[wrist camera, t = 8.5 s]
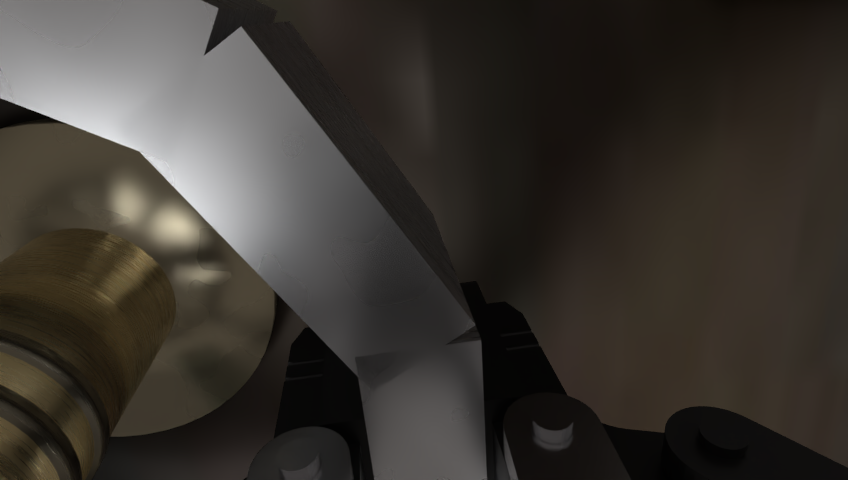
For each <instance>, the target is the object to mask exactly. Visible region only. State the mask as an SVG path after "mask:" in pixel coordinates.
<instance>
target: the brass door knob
mask: <svg viewBox="0 0 848 480" xmlns="http://www.w3.org/2000/svg"><path fill="white" fill-rule="evenodd" d="M277 304H278V294H277V293H276V292H275V291H274V290H273V289H272V288H271V287H270V286H269V285H268V284H267V283H266V282H265V281H264V280H263V279H262V277H261V276H260V275H259V274H258V273H257V272H256V271H255V270H254V269H253V268H252V267H251V266H250V265H249V264H248V263H247V262H246V261H245V260H244V259H243V258H242V257H241V256H240V255H239V254H238V253H237V252H236V251H235V250H234V249H233V248H232V247H231V245H230V244H229V243H228V242H227V241H226V240H225V239H224V238H223V237H222V236H221V235H220V234H219V233H218V232H217V231H216V230H215V229H214V228H213V227H212V226H211V225H210V224H209V223H208V222H207V221H206V220H205V219H204V218H203V217H202V216H201V215H200V214H199V212H198V211H197V210H196V209H195V208H194V207H193V206H192V205H191V204H190V203H189V202H188V201H187V200H186V199H185V198H184V197H183V196H182V195H181V194H180V193H179V192H178V191H177V190H176V189H175V188H174V187H173V186H172V185H171V184H170V183H169V182H168V181H167V179H166V178H165V177H164V176H163V175H162V174H161V173H160V172H159V171H158V170H157V169H156V168H155V167H154V166H153V165H152V164H151V163H150V162H149V161H148V160H147V159H146V158H145V157H144V156H143V155H142V154H141V153H140V152H139V151H137V150H135V149H132V148H129V147H127V146H124V145H121V144H119V143H116V142H114V141H111V140H108V139H106V138H103V137H101V136H98V135H95V134H93V133H90V132H87V131H85V130H82V129H80V128H77V127H74V126H72V125H69V124H67V123H64V122H61V121H59V120H56V119H53V118H44V119H38V120H32V121H26V122H20V123H16V124H13V125H10V126H7V127H4V128H1V129H0V480H92V478H93V477H94V475H95V473H96V471H97V470H98V468H99V466H100V464H101V463H102V461H103V459H104V456H105V454H106V452H107V448H108V444H109V438H110V437H125V436H135V435H145V434H150V433H155V432H160V431H165V430H169V429H172V428H175V427H178V426H181V425H184V424H187V423H189V422H191V421H194V420H196V419H198V418H200V417H203V416H204V415H206V414H208V413H209V412H211V411H213V410H215V409H216V408H218V407H220V406H221V405H222V404H223V403H225V402H226V401H227V400H228V399H230V398H231V397H232V396H234V395H235V394H236V393H237V392H238V391H239V390H240V388H241V387H242V386H243V385H244V384H245V383H246V382H247V381H248V380H249V378H250V377H251V375H252V374H253V373H254V371H255V370H256V369H257V367H258V365H259V363H260V361H261V359H262V357H263V355H264V353H265V351H266V348H267V345H268V342H269V339H270V336H271V333H272V329H273V325H274V321H275V316H276V310H277Z"/></svg>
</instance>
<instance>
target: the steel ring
mask: <svg viewBox="0 0 848 480" xmlns="http://www.w3.org/2000/svg"><path fill="white" fill-rule="evenodd" d="M276 13H277V10H275V9H273V8H270V7H268V6H266V5H264V4H262V3H260V2H258V1H256V0H0V98H1V99H4V100H6V101H9V102H12V103H14V104H17V105H20V106H22V107H25V108H27V109H30V110H33V111H35V112H38V113H40V114H43V115H46V116H48V117H51V118H53V119H56V120H59V121H61V122H64V123H67V124H69V125H72V126H74V127H77V128H80V129H82V130H85V131H87V132H90V133H93V134H95V135H98V136H101V137H103V138H106V139H108V140H111V141H114V142H116V143H119V144H121V145H124V146H127V147H129V148H132V149H135V150H137V151H139V152H140V153H141V154H142V155H143V156H144V157H145V158H146V159H147V160H148V161H149V162H150V163H151V164H152V165H153V166H154V167H155V168H156V169H157V170H158V171H159V172H160V173H161V174H162V175H163V176H164V177H165V178H166V179H167V181H168V182H169V183H170V184H171V185H172V186H173V187H174V188H175V189H176V190H177V191H178V192H179V193H180V194H181V195H182V196H183V197H184V198H185V199H186V200H187V201H188V202H189V203H190V204H191V205H192V206H193V207H194V208H195V209H196V210H197V211H198V212H199V214H200V215H201V216H202V217H203V218H204V219H205V220H206V221H207V222H208V223H209V224H210V225H211V226H212V227H213V228H214V229H215V230H216V231H217V232H218V233H219V234H220V235H221V236H222V237H223V238H224V239H225V240H226V241H227V242H228V243H229V244H230V245H231V247H232V248H233V249H234V250H235V251H236V252H237V253H238V254H239V255H240V256H241V257H242V258H243V259H244V260H245V261H246V262H247V263H248V264H249V265H250V266H251V267H252V268H253V269H254V270H255V271H256V272H257V273H258V274H259V275H260V276H261V277H262V279H263V280H264V281H265V282H266V283H267V284H268V285H269V286H270V287H271V288H272V289H273V290H274V291H275V292H276V293H277V294H278V295H279V296H280V297H281V298H282V299H283V300H284V301H285V302H286V303H287V304H288V305H289V306H290V307H291V308H292V309H293V310H294V312H295V313H296V314H297V315H298V316H299V317H300V318H301V319H302V320H303V321H304V322H305V323H306V324H307V325H308V326H309V327H310V328H311V329H312V330H313V331H314V332H315V333H316V334H317V335H318V336H319V337H320V338H321V339H322V340H323V341H324V342H325V343H326V345H327V346H328V347H329V348H330V349H331V350H332V351H333V352H334V353H335V354H336V355H337V356H338V357H339V358H340V359H341V360H342V361H343V362H344V363H345V364H346V365H347V366H348V367H349V368H350V369H351V370H352V371H353V372H354V373H355V374H356V375H357V376H358V380H359V386H360V392H361V399H362V405H363V411H364V418H365V424H366V430H367V436H368V443H369V449H370V455H371V462H372V468H373V474H374V480H487V467H486V443H485V418H484V394H483V370H482V345H481V338H480V335H479V333H478V330H477V328H476V325H475V322H474V319H473V317H472V314H471V312H470V309H469V306H468V304H467V301H466V299H465V296H464V293H463V291H462V288H461V286H460V283H459V281H458V278H457V275H456V273H455V270H454V268H453V265H452V262H451V260H450V257H449V255H448V252H447V249H446V247H445V244H444V242H443V239H442V237H441V234H440V231H439V229H438V226H437V224H436V221H435V218H434V216H433V214H432V212H431V211H430V210H429V208H428V207H427V206H426V204H425V203H424V202H423V200H422V199H421V197H420V196H419V195H418V193H417V192H416V191H415V189H414V188H413V187H412V185H411V184H410V183H409V181H408V180H407V179H406V177H405V176H404V175H403V173H402V172H401V170H400V169H399V168H398V166H397V165H396V164H395V162H394V161H393V160H392V158H391V157H390V156H389V154H388V153H387V152H386V150H385V149H384V148H383V146H382V145H381V144H380V142H379V141H378V139H377V138H376V137H375V135H374V134H373V133H372V131H371V130H370V129H369V127H368V126H367V125H366V123H365V122H364V121H363V119H362V118H361V117H360V115H359V114H358V113H357V111H356V110H355V108H354V107H353V106H352V104H351V103H350V102H349V100H348V99H347V98H346V96H345V95H344V94H343V92H342V91H341V90H340V88H339V87H338V86H337V84H336V83H335V81H334V80H333V79H332V77H331V76H330V75H329V73H328V72H327V71H326V69H325V68H324V67H323V65H322V64H321V63H320V61H319V60H318V59H317V57H316V56H315V55H314V53H313V52H312V50H311V49H310V48H309V46H308V45H307V44H306V42H305V41H304V40H303V38H302V37H301V36H300V34H299V33H298V32H297V30H296V29H295V28H294V26H293V25H292V24H291V22H290V21H287V22H278V23H273V22H274V19H275V16H276Z"/></svg>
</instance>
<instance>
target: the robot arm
mask: <svg viewBox="0 0 848 480" xmlns="http://www.w3.org/2000/svg"><path fill="white" fill-rule="evenodd" d="M460 286H461V288H462V291H463V293H464V296H465V299H466V301H467V304H468V306H469V309H470V312H471V314H472V317H473V319H474V322H475V325H476V328H477V330H478V333H479V335H480V338H481V345H482V370H483V394H484V418H485V443H486V467H487V480H848V468H847V467H845V466H843V465H841V464H839V463H837V462H835V461H833V460H831V459H829V458H827V457H825V456H823V455H821V454H819V453H817V452H815V451H813V450H811V449H809V448H807V447H805V446H803V445H801V444H799V443H797V442H795V441H793V440H790V439H788V438H786V437H784V436H782V435H780V434H778V433H776V432H774V431H772V430H770V429H768V428H766V427H764V426H762V425H760V424H758V423H756V422H754V421H752V420H750V419H748V418H746V417H744V416H742V415H739V414H737V413H734V412H731V411H728V410H724V409H720V408H715V407H705V406H698V407H689V408H685V409H682V410H680V411H678V412H676V413H675V414H673V415H672V416H671V417H670V418H669V419H668V421H667V423H666V426H665V433H660V432H650V431H640V430H631V429H623V428H617V427H613V426H609V425H606V424H603V423H601V421H600V419H599V418H598V416H597V415H596V413H595V412H594V411H593V410H592V409H591V408H590V407H588V406H587V405H586V404H584V403H583V402H581V401H579V400H577V399H575V398H573V397H570V396H568V395H567V394H566V392H565V390H564V388H563V386H562V385H561V383H560V381H559V379H558V377H557V376H556V374H555V372H554V370H553V368H552V366H551V365H550V363H549V361H548V359H547V357H546V356H545V354H544V352H543V350H542V348H541V347H540V346H539V344H538V341H537V339H536V338H535V336H534V334H533V333H532V332H531V328H530V327H529V325H528V323H527V321H526V319H525V318H524V316H523V314H522V313H521V312H519V311H518V310H516V309H515V308H513V307H512V306H511V305H509V304H508V303H506V302H498V303H490V304H486V302H485V299H484V297H483V295H482V293H481V291H480V288H479V286H478V284H477V282H476V281H473V282H466V283H460ZM285 379H286V382H284V387H283V392H282V398H281V403H280V408H279V414H278V419H277V424H276V429H275V435H274V439H273V440H271V441H270V442H268V443H267V444H266V445H265V446H264V447H263V448H262V449H261V450H260V451H259V452H258V453H257V455H256V456H255V457H254V459H253V461H252V463H251V465H250V468H249V471H248V476H247V478H245V479H244V480H374V474H373V468H372V462H371V455H370V449H369V443H368V436H367V430H366V424H365V418H364V411H363V405H362V399H361V392H360V386H359V380H358V376H357V375H356V374H355V373H354V372H353V371H352V370H351V369H350V368H349V367H348V366H347V365H346V364H345V363H344V362H343V361H342V360H341V359H340V358H339V357H338V356H337V355H336V354H335V353H334V352H333V351H332V350H331V349H330V348H329V347H328V346H327V345H326V343H325V342H324V341H323V340H322V339H321V338H320V337H319V336H318V335H317V334H316V333H315V332H314V331H313V330H312V329H311V328H310V327H308V328H305V329H304V330H303V331H302V332H301V334H300V335H299V336H298V337H297V338H296V340H295V341H294V342H293V343H292V345H291V350H290V355H289V361H288V366H287V371H286V377H285Z"/></svg>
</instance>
